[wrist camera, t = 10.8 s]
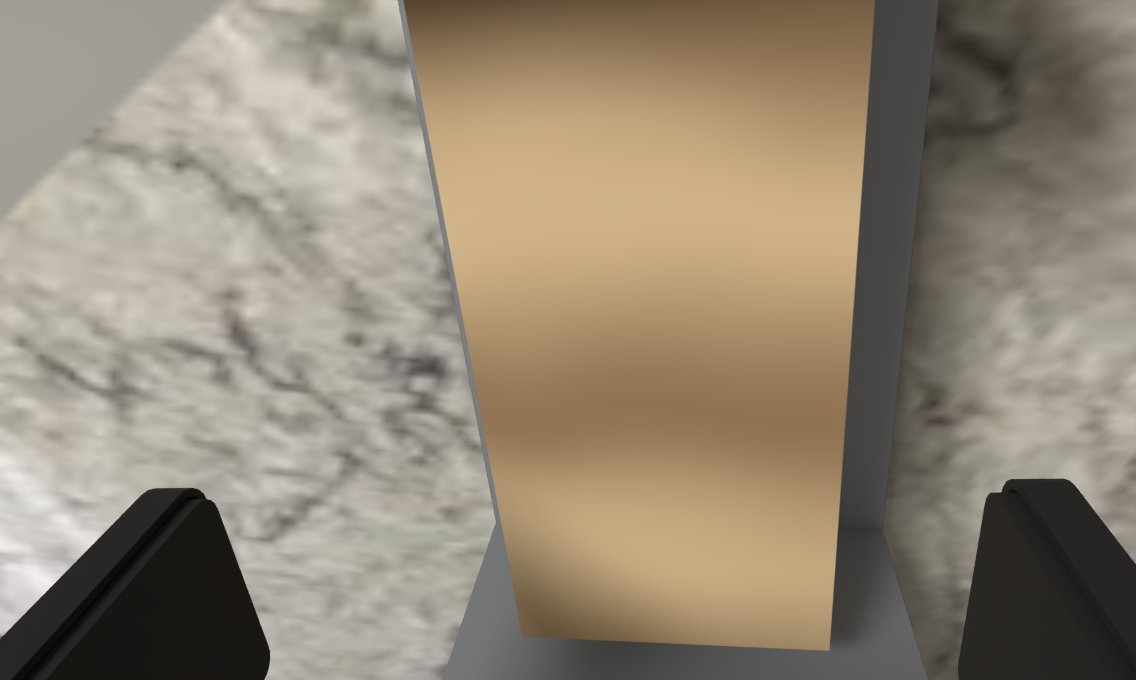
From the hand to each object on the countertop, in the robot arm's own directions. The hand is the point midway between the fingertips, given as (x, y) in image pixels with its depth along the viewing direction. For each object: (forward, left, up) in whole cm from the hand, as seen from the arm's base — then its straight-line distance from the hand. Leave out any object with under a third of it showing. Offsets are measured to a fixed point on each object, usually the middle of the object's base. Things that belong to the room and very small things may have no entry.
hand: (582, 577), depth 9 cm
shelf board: (+1, +1, -6) cm, 6 cm away
